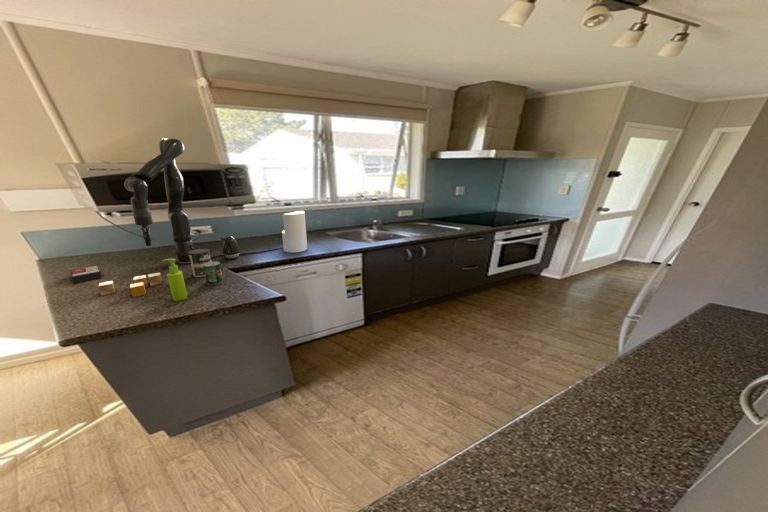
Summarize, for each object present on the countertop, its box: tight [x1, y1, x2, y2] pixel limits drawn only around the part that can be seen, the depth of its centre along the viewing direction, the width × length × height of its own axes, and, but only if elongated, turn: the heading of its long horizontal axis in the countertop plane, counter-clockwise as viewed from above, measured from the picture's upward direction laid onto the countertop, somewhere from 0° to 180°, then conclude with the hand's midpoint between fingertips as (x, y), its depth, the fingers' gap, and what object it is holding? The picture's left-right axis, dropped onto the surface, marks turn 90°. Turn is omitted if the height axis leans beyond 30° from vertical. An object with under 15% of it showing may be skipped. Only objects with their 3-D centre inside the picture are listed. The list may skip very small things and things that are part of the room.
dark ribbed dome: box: [220, 235, 241, 260], centre depth 193 cm, size 10×10×15 cm
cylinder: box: [281, 210, 308, 253], centre depth 212 cm, size 17×17×28 cm
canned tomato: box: [203, 260, 224, 286], centre depth 154 cm, size 8×8×11 cm
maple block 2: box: [147, 272, 163, 287], centre depth 153 cm, size 5×5×5 cm
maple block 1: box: [97, 280, 116, 296], centre depth 141 cm, size 5×5×5 cm
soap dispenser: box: [161, 258, 189, 302], centre depth 134 cm, size 6×7×20 cm
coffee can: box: [188, 247, 212, 278], centre depth 165 cm, size 10×10×14 cm
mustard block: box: [129, 282, 147, 298], centre depth 140 cm, size 5×5×5 cm
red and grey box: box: [70, 265, 103, 284], centre depth 159 cm, size 11×4×15 cm
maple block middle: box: [132, 274, 149, 288], centre depth 149 cm, size 5×5×5 cm
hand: (148, 244), depth 162 cm, fingers open, 8 cm apart
